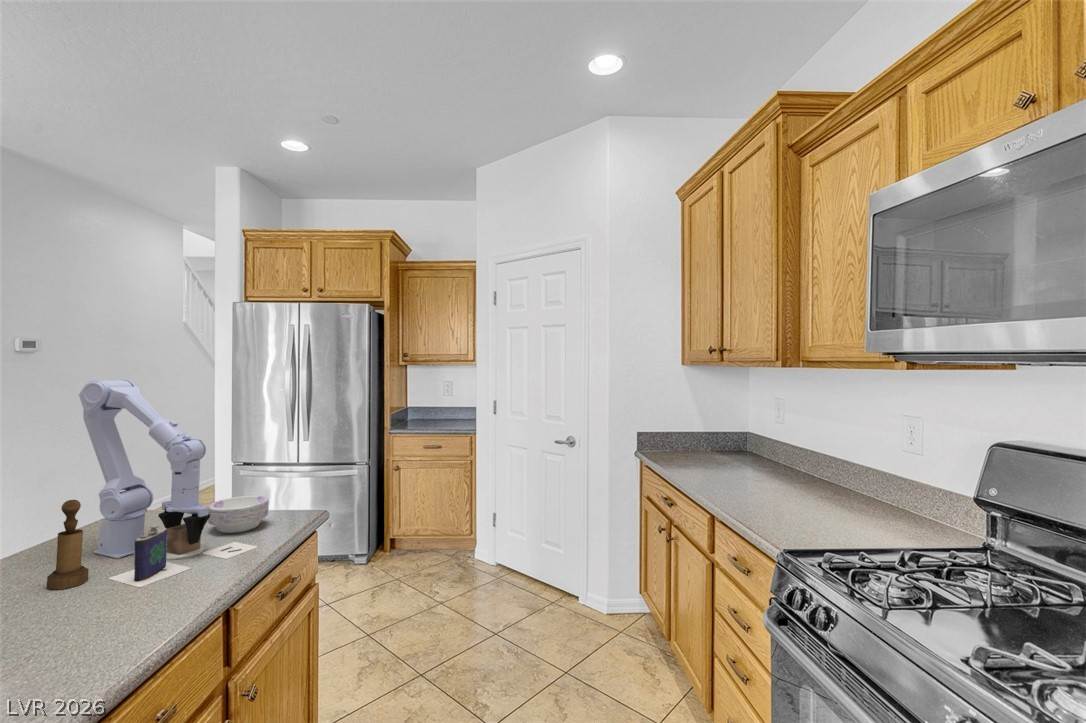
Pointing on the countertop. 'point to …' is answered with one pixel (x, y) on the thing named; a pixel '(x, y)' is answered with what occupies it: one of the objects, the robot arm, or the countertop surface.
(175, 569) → the code tile
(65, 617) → the countertop surface
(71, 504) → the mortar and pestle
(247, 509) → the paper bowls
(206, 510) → the robot arm
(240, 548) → the code tile
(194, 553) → the plate
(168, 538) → the walnut block
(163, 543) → the flask
